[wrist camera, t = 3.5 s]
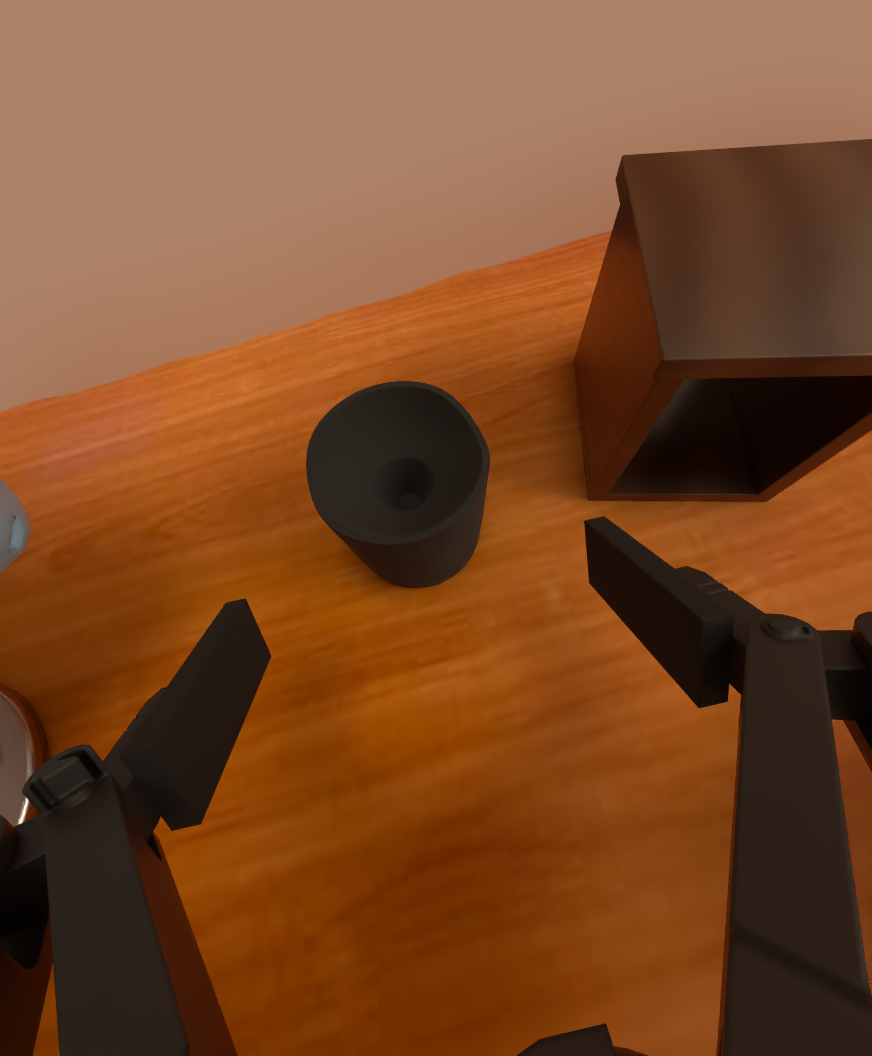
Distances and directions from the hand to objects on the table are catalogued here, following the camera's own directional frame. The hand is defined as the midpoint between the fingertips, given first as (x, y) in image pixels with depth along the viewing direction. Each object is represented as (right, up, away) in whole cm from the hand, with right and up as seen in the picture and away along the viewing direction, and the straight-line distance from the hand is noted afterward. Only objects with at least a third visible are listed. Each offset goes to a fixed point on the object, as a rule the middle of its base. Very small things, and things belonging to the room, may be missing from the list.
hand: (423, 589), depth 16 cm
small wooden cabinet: (+18, +10, +16) cm, 26 cm away
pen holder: (-1, +2, +14) cm, 14 cm away
